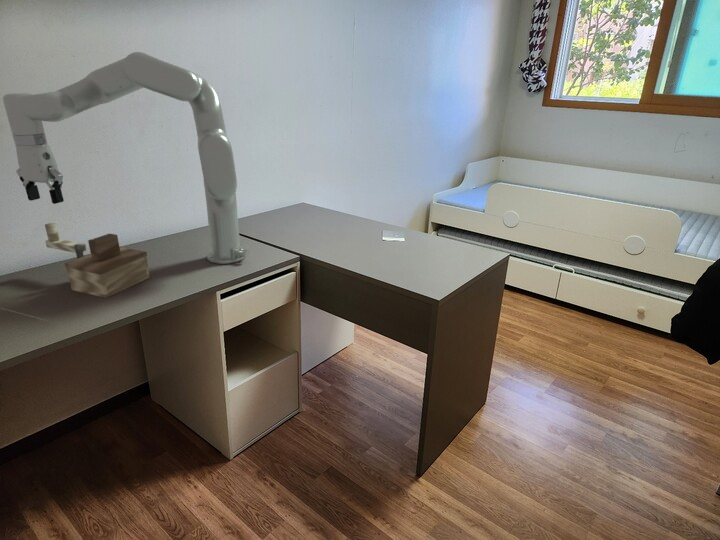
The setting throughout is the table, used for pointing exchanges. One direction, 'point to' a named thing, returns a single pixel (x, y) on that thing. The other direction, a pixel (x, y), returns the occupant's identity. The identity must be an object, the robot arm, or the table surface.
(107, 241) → the lid
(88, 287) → the light wooden box
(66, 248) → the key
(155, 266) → the table surface
